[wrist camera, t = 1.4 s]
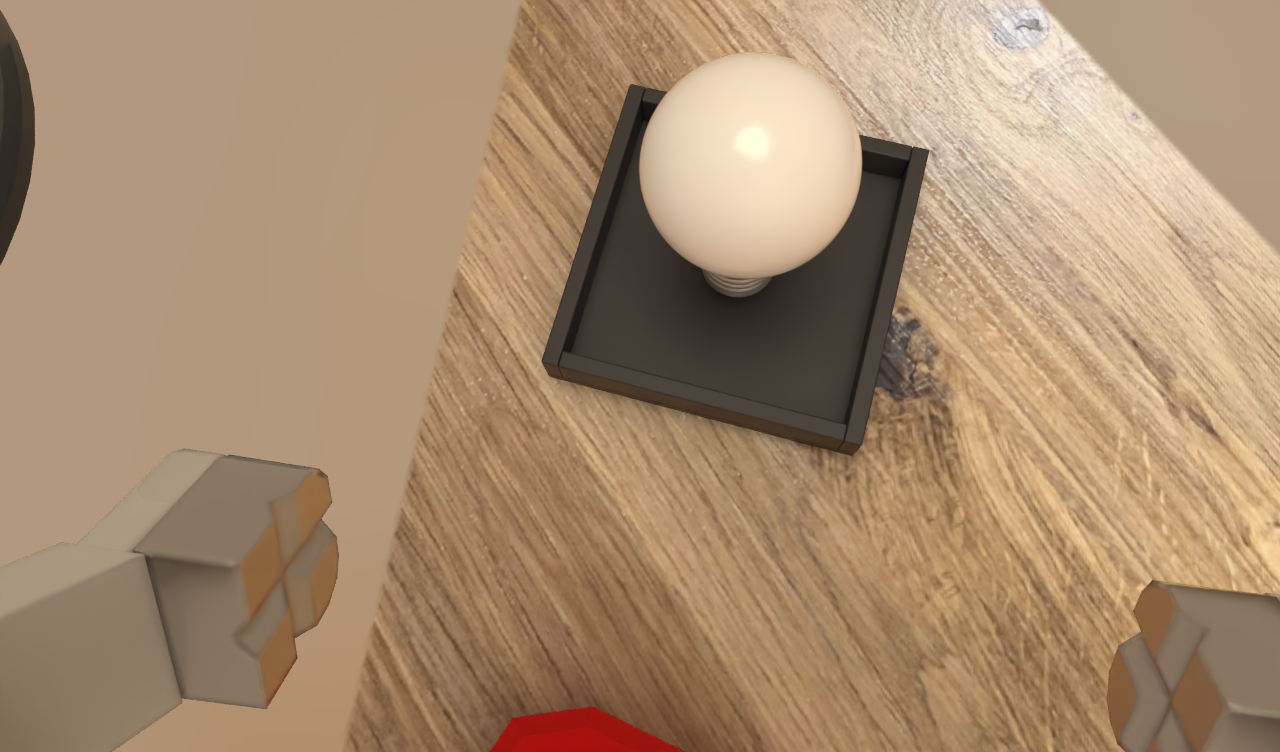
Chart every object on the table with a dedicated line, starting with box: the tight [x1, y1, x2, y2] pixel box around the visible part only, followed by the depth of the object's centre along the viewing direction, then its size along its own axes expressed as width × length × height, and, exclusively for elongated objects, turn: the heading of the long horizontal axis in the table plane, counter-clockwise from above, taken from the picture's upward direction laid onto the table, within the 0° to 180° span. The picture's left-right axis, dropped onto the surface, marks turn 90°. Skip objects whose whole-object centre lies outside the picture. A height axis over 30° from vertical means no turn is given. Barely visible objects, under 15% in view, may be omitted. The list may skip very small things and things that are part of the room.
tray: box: [542, 84, 929, 456], centre depth 35 cm, size 11×11×2 cm
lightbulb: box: [639, 52, 862, 297], centre depth 30 cm, size 6×6×11 cm
